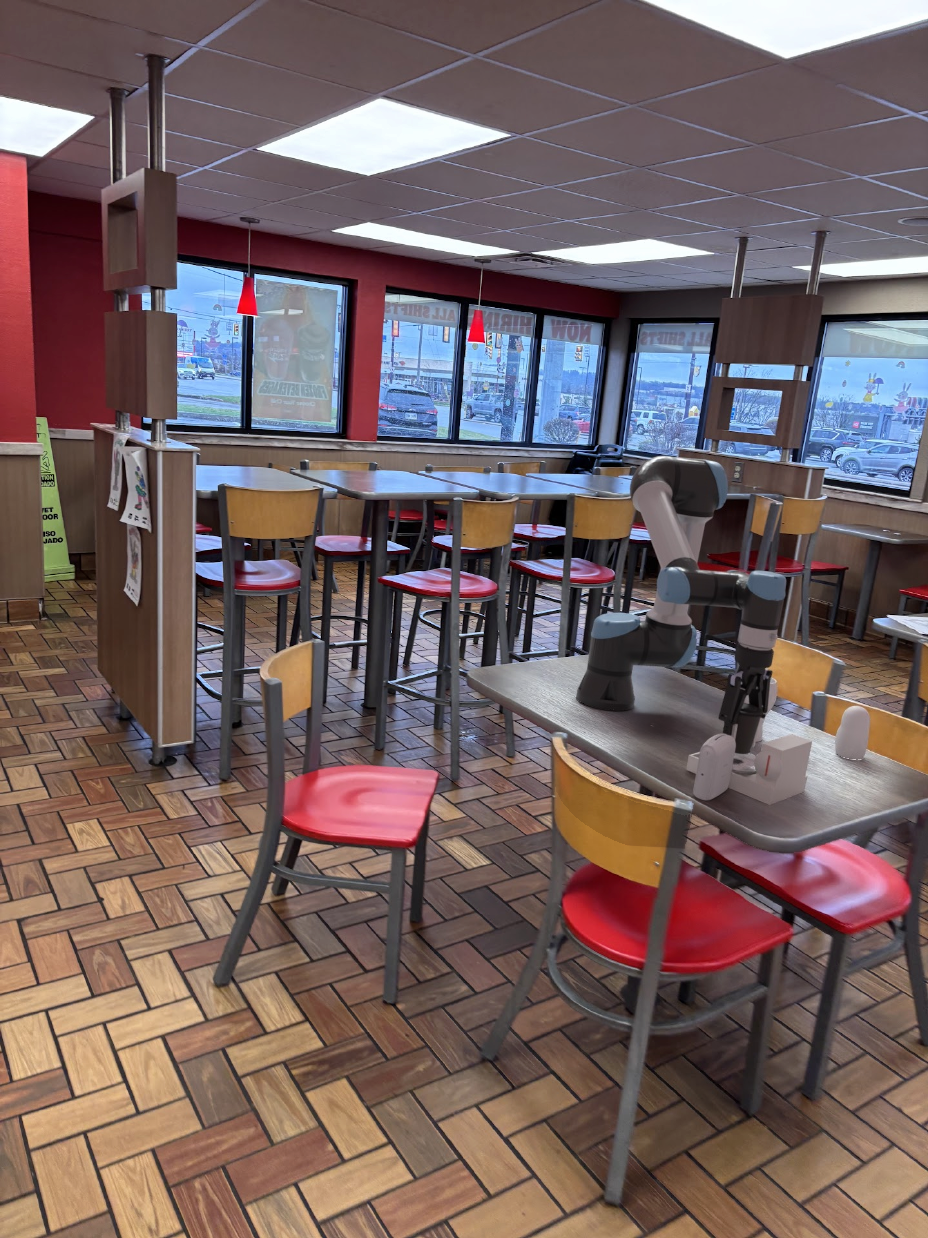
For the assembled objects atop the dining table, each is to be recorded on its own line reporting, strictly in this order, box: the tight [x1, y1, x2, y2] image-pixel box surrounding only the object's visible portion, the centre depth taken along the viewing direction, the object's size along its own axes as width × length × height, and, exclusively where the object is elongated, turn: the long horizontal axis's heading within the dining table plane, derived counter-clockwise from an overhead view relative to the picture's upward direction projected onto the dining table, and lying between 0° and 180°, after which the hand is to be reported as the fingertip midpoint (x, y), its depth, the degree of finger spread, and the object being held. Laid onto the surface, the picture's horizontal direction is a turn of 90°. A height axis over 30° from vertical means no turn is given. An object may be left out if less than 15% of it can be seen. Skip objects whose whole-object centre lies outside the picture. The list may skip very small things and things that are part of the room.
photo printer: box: [692, 733, 736, 801], centre depth 183 cm, size 10×4×12 cm, turn 140°
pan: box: [731, 752, 757, 774], centre depth 195 cm, size 12×12×3 cm
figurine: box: [834, 705, 871, 760], centre depth 215 cm, size 7×8×12 cm
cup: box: [741, 677, 778, 743], centre depth 220 cm, size 11×11×15 cm
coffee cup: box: [735, 703, 764, 754], centre depth 193 cm, size 8×8×10 cm
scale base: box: [685, 733, 813, 806], centre depth 192 cm, size 21×14×11 cm
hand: (737, 748), depth 194 cm, fingers closed on coffee cup, 8 cm apart
